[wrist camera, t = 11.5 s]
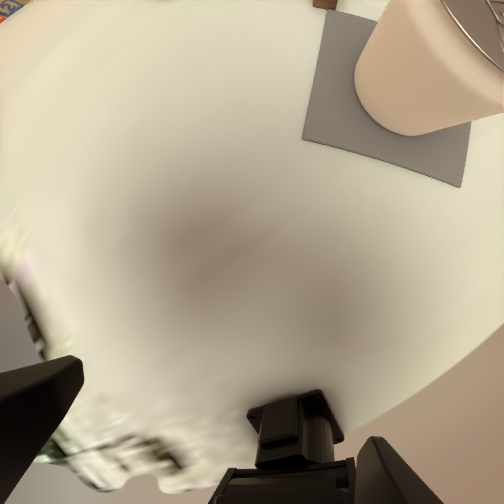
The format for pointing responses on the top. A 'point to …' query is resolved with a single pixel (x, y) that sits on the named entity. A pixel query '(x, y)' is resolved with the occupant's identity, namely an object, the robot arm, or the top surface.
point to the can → (433, 65)
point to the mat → (360, 122)
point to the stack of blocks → (10, 7)
